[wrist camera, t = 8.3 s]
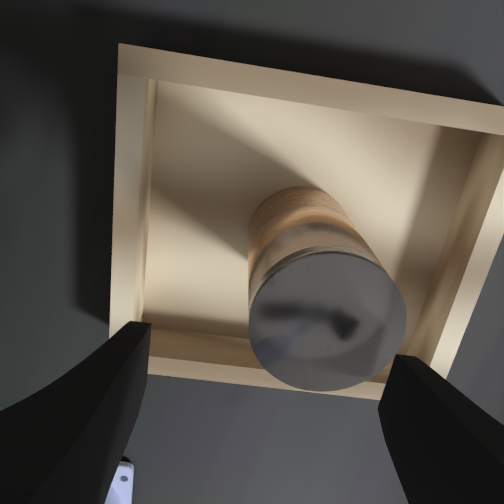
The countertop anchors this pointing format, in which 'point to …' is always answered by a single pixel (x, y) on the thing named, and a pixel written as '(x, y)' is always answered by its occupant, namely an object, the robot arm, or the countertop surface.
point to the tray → (284, 176)
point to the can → (318, 294)
